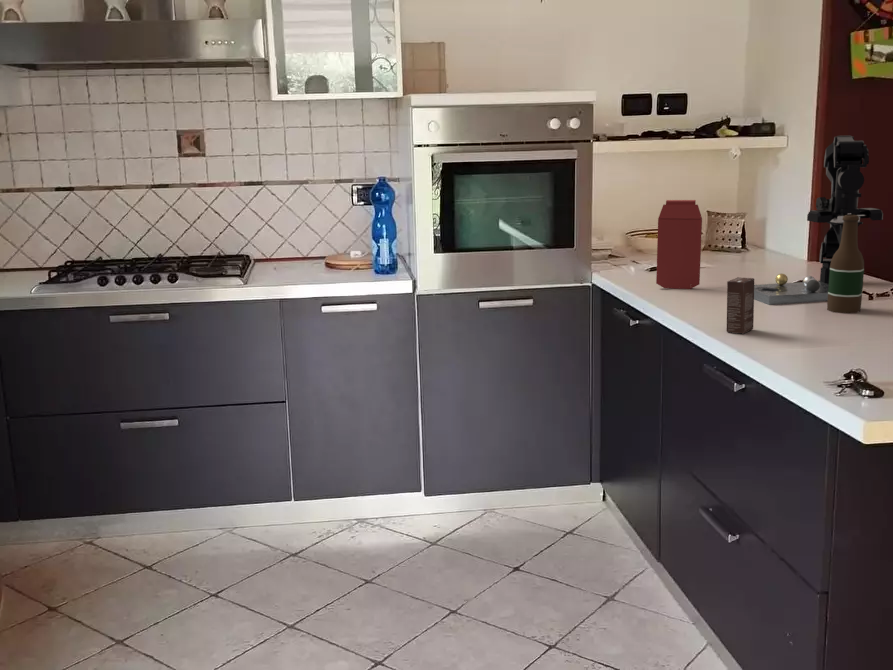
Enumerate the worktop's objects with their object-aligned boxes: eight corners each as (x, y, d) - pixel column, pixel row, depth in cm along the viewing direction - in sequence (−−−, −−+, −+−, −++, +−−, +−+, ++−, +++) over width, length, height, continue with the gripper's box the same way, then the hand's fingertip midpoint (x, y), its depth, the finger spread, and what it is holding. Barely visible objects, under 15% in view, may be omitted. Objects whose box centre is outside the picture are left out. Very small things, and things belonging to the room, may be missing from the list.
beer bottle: (845, 316, 220) (853, 217, 214) (819, 310, 227) (826, 215, 221) (867, 312, 223) (875, 215, 218) (841, 307, 230) (848, 213, 224)
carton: (699, 286, 264) (702, 200, 258) (699, 289, 259) (702, 201, 254) (656, 285, 267) (659, 200, 261) (656, 288, 262) (658, 201, 257)
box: (734, 327, 211) (737, 276, 209) (753, 329, 208) (756, 278, 206) (724, 332, 207) (726, 280, 204) (743, 334, 204) (746, 282, 201)
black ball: (815, 290, 240) (816, 278, 239) (821, 292, 237) (822, 280, 236) (804, 290, 240) (804, 278, 239) (810, 293, 237) (811, 280, 236)
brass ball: (783, 283, 250) (784, 272, 250) (789, 285, 247) (790, 274, 246) (772, 284, 250) (773, 273, 249) (778, 286, 247) (779, 274, 246)
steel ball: (811, 286, 246) (811, 274, 245) (817, 288, 243) (818, 276, 242) (800, 286, 245) (800, 275, 244) (806, 289, 242) (807, 277, 241)
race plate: (817, 290, 253) (818, 281, 253) (850, 300, 238) (851, 291, 237) (740, 294, 250) (741, 285, 249) (769, 305, 235) (769, 295, 234)
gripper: (861, 185, 248) (857, 242, 252) (798, 188, 246) (794, 245, 249) (886, 188, 238) (881, 247, 241) (820, 191, 235) (816, 250, 239)
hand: (842, 247), depth 243 cm, fingers closed
